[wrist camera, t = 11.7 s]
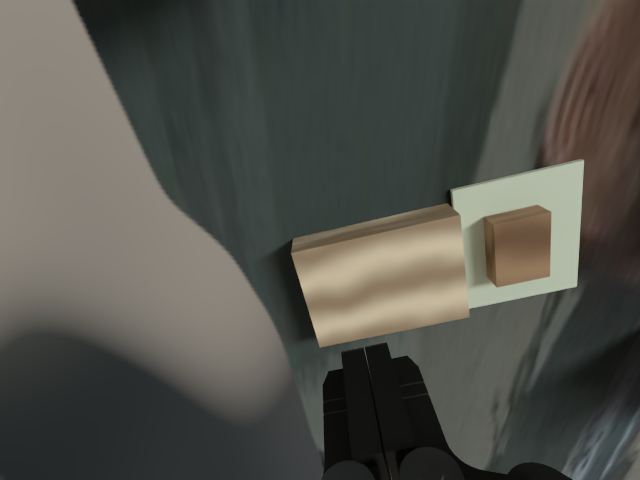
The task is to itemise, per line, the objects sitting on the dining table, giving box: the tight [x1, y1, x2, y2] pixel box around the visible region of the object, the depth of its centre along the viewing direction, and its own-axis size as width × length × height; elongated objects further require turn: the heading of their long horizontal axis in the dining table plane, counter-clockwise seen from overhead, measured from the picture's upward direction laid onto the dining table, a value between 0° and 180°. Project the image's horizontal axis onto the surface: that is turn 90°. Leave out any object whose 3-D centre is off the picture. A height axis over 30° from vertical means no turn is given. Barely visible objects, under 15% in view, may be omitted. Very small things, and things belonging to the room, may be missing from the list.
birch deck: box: [291, 203, 469, 347], centre depth 41 cm, size 13×18×4 cm
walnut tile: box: [483, 205, 551, 287], centre depth 40 cm, size 8×6×2 cm
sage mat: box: [450, 159, 584, 309], centre depth 41 cm, size 16×14×1 cm
